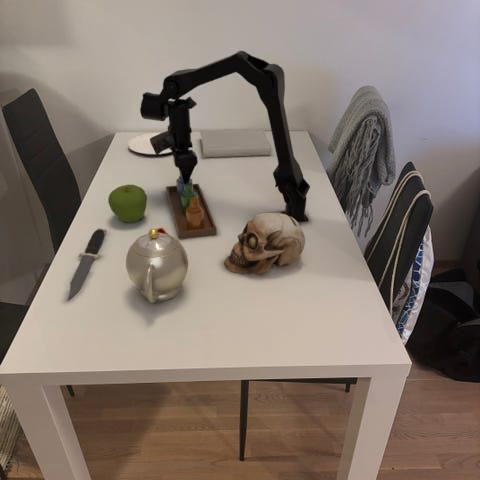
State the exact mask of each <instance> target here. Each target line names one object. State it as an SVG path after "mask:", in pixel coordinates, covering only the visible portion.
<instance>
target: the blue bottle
mask: <svg viewBox="0 0 480 480" xmlns="http://www.w3.org/2000/svg"><path fill="white" fill-rule="evenodd" d="M175 183H176V184H175V186H177V197H178V199H179V200H181V193H183V191H184V190H185V188H184V182H183V178H182V175H181V171H179V176H178V178H176V180H175ZM188 183H192V184H194V182H193V179H192V178H191V177H190V179H189V182H188Z"/></svg>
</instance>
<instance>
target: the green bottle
mask: <svg viewBox="0 0 480 480" xmlns="http://www.w3.org/2000/svg"><path fill="white" fill-rule="evenodd" d="M193 184H194V183H193ZM193 184H192V183H186V184H184V188H185V190H184V191H183V193H181V205H182V214H183V215H185V216H186V209H187V208H189V206H190V199H192V198H197V199H198V194H197V193H196V192H195V191H194V190H193Z"/></svg>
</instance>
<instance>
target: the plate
mask: <svg viewBox="0 0 480 480" xmlns="http://www.w3.org/2000/svg"><path fill="white" fill-rule="evenodd" d="M160 133H161V132H151V133H144V134H140V135H137V136H134V137H133V138H131V139H130V140H129V141H128V143H127V147H128V148H129V150H131V151H133V152H135V153H137V154H140V155H141V154H142V155H147V156H149V155H151V156H157V155H159V156H161V155H165V154H171V153H173V152H172V151H171V150H170V149H169V148H168V149H166V150H164V151H162V152H161V153H159V154H156V153H155V151H154V149H153V147H152V145H151V142H150V138H152V137H154V136H156V135H158V134H160Z"/></svg>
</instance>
